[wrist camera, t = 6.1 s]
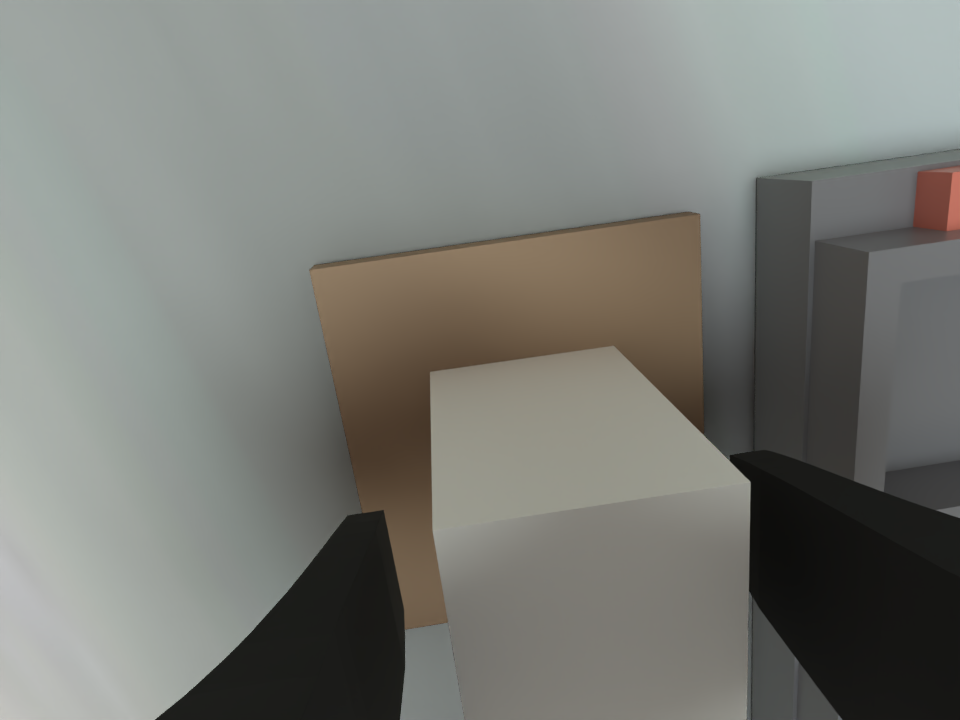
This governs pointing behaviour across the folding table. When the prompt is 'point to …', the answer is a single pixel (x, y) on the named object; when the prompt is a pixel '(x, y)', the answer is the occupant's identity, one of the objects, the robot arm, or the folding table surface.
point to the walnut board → (495, 346)
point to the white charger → (586, 545)
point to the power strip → (857, 351)
